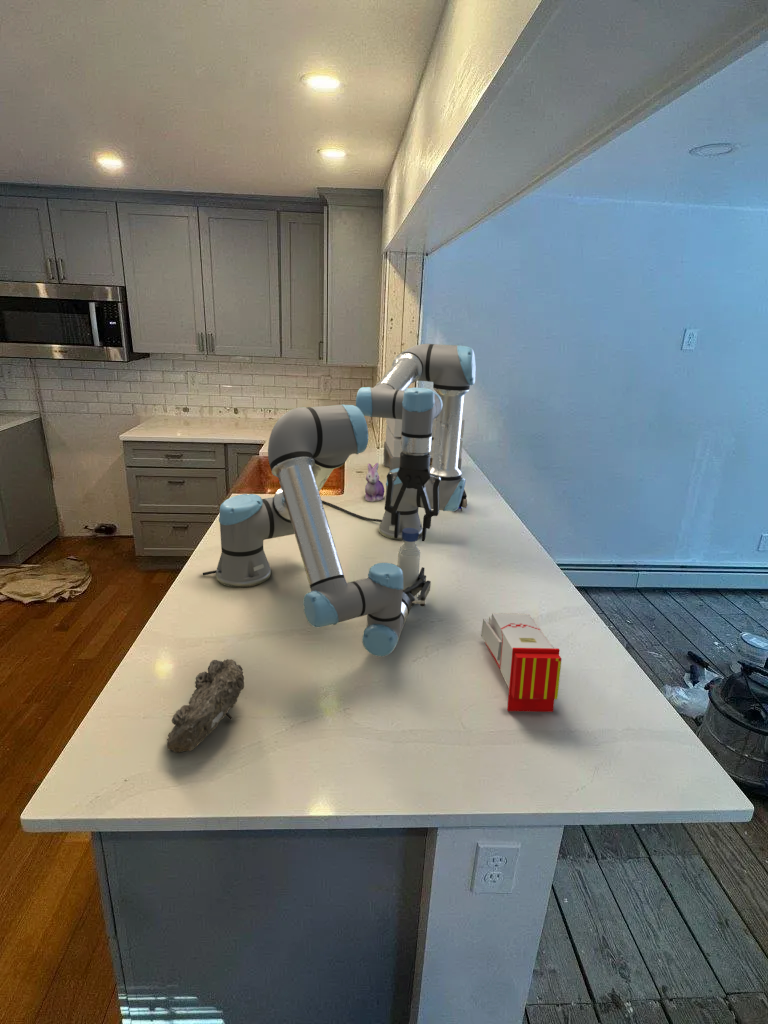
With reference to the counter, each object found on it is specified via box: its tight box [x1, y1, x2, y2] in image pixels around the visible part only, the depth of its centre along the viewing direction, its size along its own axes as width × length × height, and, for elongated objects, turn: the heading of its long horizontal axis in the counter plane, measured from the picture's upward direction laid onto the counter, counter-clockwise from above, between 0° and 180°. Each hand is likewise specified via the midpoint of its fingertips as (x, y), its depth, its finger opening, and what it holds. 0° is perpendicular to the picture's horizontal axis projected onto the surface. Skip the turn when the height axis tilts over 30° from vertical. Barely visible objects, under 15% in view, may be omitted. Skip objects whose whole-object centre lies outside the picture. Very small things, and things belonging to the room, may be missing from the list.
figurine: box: [364, 462, 385, 502], centre depth 233 cm, size 9×10×15 cm
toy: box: [480, 612, 562, 713], centre depth 124 cm, size 12×13×30 cm
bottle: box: [396, 540, 421, 598], centre depth 151 cm, size 6×6×20 cm
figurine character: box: [457, 489, 468, 512], centre depth 228 cm, size 7×8×15 cm
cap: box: [402, 528, 420, 542], centre depth 148 cm, size 4×4×2 cm
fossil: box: [166, 658, 245, 754], centre depth 106 cm, size 22×10×15 cm
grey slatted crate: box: [383, 418, 465, 472], centre depth 268 cm, size 34×33×41 cm
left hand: (411, 570), depth 157 cm, fingers closed on bottle, 6 cm apart
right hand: (410, 537), depth 148 cm, fingers open, 6 cm apart
